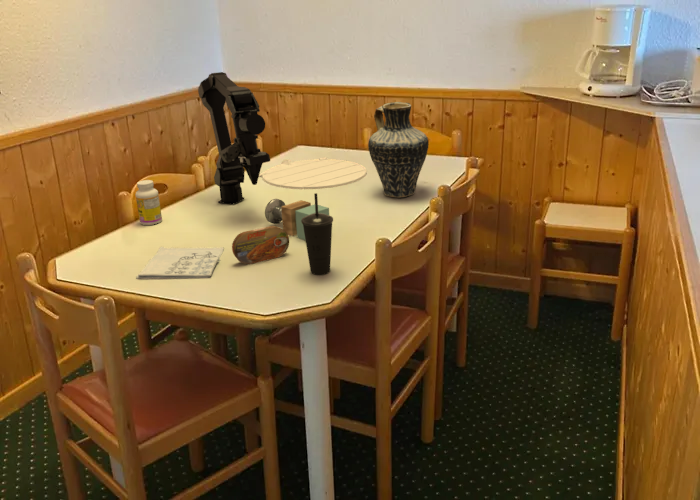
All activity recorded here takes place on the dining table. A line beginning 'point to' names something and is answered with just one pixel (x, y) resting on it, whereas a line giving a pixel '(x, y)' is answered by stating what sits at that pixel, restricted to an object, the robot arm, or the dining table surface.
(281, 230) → the tin
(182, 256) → the folded printed napkin
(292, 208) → the sleeve block
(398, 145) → the jug
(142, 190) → the supplement bottle
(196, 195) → the dining table surface
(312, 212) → the socket block
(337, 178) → the lazy susan
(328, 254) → the drinking cup
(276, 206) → the metal mushroom knob
